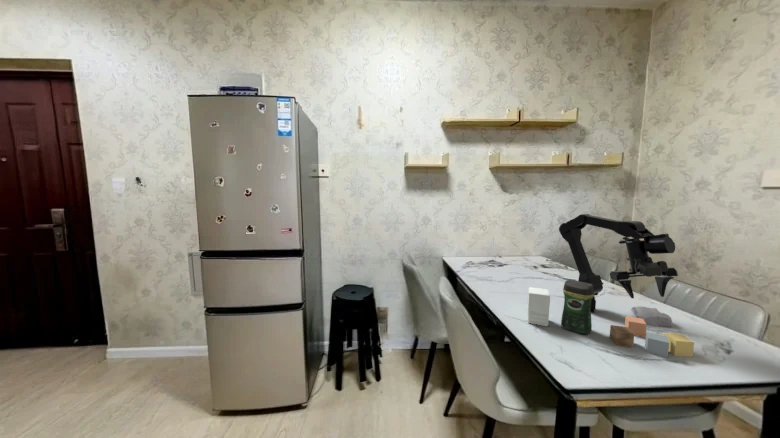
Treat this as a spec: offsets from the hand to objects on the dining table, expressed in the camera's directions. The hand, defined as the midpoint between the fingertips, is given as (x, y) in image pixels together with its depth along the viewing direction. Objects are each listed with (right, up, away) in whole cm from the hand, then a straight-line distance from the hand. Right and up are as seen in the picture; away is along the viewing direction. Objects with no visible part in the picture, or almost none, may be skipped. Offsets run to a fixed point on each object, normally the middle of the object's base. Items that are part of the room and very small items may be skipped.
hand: (647, 297), depth 105 cm
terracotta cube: (-3, -14, +2) cm, 14 cm away
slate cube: (-6, -15, -10) cm, 19 cm away
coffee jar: (-23, -13, +5) cm, 27 cm away
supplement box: (-35, -13, +11) cm, 39 cm away
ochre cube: (0, -15, -11) cm, 18 cm away
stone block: (+11, -13, +12) cm, 21 cm away
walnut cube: (-14, -14, -5) cm, 21 cm away
